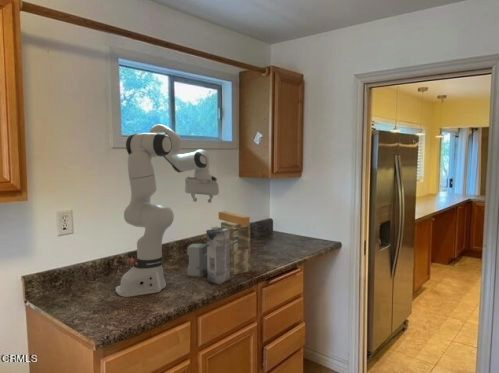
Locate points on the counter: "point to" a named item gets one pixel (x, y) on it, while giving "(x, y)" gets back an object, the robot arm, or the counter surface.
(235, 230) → the baking soda box
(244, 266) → the birch stool
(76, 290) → the counter surface
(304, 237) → the counter surface
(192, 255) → the circuit breaker
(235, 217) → the orange bar
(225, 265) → the juice carton
